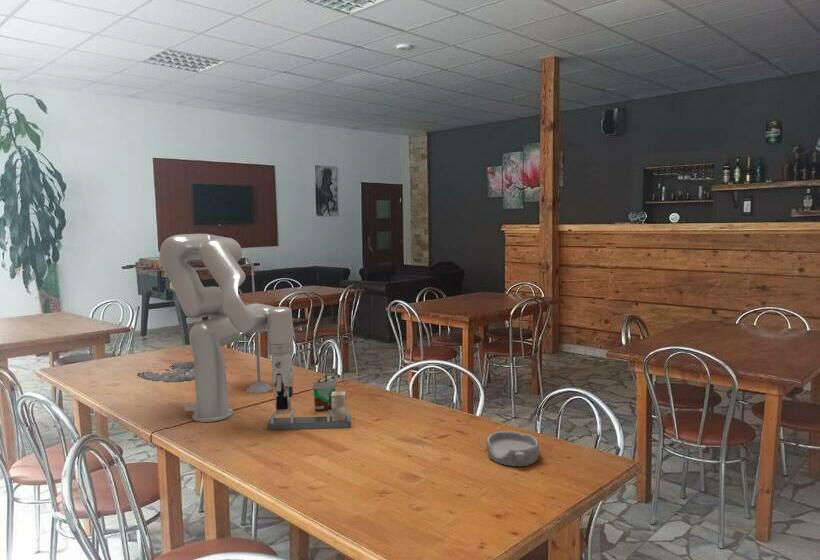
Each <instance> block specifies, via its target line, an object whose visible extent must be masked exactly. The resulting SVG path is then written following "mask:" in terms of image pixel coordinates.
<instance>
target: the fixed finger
mask: <svg viewBox="0 0 820 560" xmlns="http://www.w3.org/2000/svg"><path fill="white" fill-rule="evenodd" d="M346 400H347V399H346V390H345V391H344V390H343V391H335V392H332V394H329V405H332V409H331V416H332V421H345V420H346V416H347V404H346V403H347V401H346Z"/></svg>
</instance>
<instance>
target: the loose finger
mask: <svg viewBox="0 0 820 560" xmlns="http://www.w3.org/2000/svg"><path fill="white" fill-rule="evenodd" d="M282 386H284V385H282ZM282 389H283V390H284V388H282ZM286 396H287V403H288V408H287V409H284V410H277V403H276V387H274V397H275V398H274V399H275V400H274V401H275V412H276V416H277V415H290V413H291V412H292V397H293V396H294V387H293V386H291V385H290V386H289V387H287V386H286Z"/></svg>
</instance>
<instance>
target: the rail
mask: <svg viewBox="0 0 820 560" xmlns="http://www.w3.org/2000/svg"><path fill="white" fill-rule="evenodd" d="M327 411H328V412H327V415H326V416H303V417H302V416H301V417H300V416H299V417H297V412H296V410H294V411H292V413H291V415H290V417H278V416H277V415H276V411H273V412H272V414H271V416H270V418H269V419H268V421H267V423H266V425H267V427H266V429H267V431H276V430H277V431H278V429H279V430H280V429H281V430H282V429H285V430H310V429H311V430H313V429H314V430H315V429H346V428H347V429H348V428H349V429H351V425H352V415H351V414H352V412H351V411H352V410H351V409H348V410H347V411H346V420H345V421H332V409H330V410H327Z"/></svg>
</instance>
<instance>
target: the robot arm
mask: <svg viewBox="0 0 820 560" xmlns="http://www.w3.org/2000/svg"><path fill="white" fill-rule="evenodd" d="M242 255H243V251H242V247H241V245H240V243H239V242H238V241H237V240H235V239H233V238H231V237H225V236H219V235H215V234H208V233H184V234H182V233H181V234H175V235H172V236H169V237H168V238H166V239H165V240H163V242H162V244H161V246H160V248H159V260H160V261H159V262H160V264H161V267H162V269H163V271H164V272H165V274H166V276H167V278H168V280H169V281H170V283H171V285H172V288H173V291H174V292H175V295H176V298H177V300H178V304H179V305H180V307H181V309H182V311H183V313H184V316H186V317H187V318H189V319H201V318H206V317H209V318H208V319H204V320H201V321H198V322H196V323H195V324H194V325H193V326H191V329H190V331H189V337H188V339H189V343H190V346H191V350H192V356H193V362H194V369H195V380H194V383H195V397H196V399H195V400H196V402H194V403H184V405H183V410H184V411H185V412H193V413H192V415H191V418H192V420H193V421H195V422H201V423H211V422H219V421H222V420H226V419H228V418H230V417H232V415H233V414H234V410H233V409H232V408H231V407H229V406H228V388H227V386H228V385H227V368H226V367H227V365H226V360H225V357H224V354H223V352H222V351H221V347H223V346H226V345H230V344H233V343H234V342H236V341H237V340H238V339H239V337H240V335H241V333H242V334H244V335H247V334H253V333H255V332H256V331H259V330H264V329H267V331H266V334H267V351H268V352H267V353H268V355H269V356H271V377H272V386H273V387H274V388H276V402H275V404H276V403H277V410H284V409H287V408H288V403H287V396H286V386H287V387H289V386H291V385H292V383H293V382H294V378H295V377H294V367H293V364H294V363H293V356H292V354H293V353H294V350H295V349H294V330H293V313H292V309H291V308H290V307H287V306H272V305H270V304H269V305H268V304H264V305H259V306H254V307H250V308H247V307H246V306H247V305H245V304H244V303H245V302H244V301H243V300H242V298H241V297H240V294H239V287H240V286H241V285H242V284H243V283H244V281H245V280H246V273H245V272H244V270H243V269H242V268H241V266H240V264H239V263H238V262H239V260H241V258H242ZM194 260H195V261H196V260H201V261H202V263H203V265H204V266H205V267H206V268H207V270H208V272H209V273H210V275H212V278H213V279H214V280H215V282H216V284H217V285H218V286H204V285H203V283H202V281H201V280H200V277H199V273H198V272H197V271H196V270H195V269H194V268H193V267H192V266H191V265H190V264H189V263H188V261H194ZM282 385H284V386H282ZM282 388H284V390H283V389H282Z"/></svg>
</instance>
